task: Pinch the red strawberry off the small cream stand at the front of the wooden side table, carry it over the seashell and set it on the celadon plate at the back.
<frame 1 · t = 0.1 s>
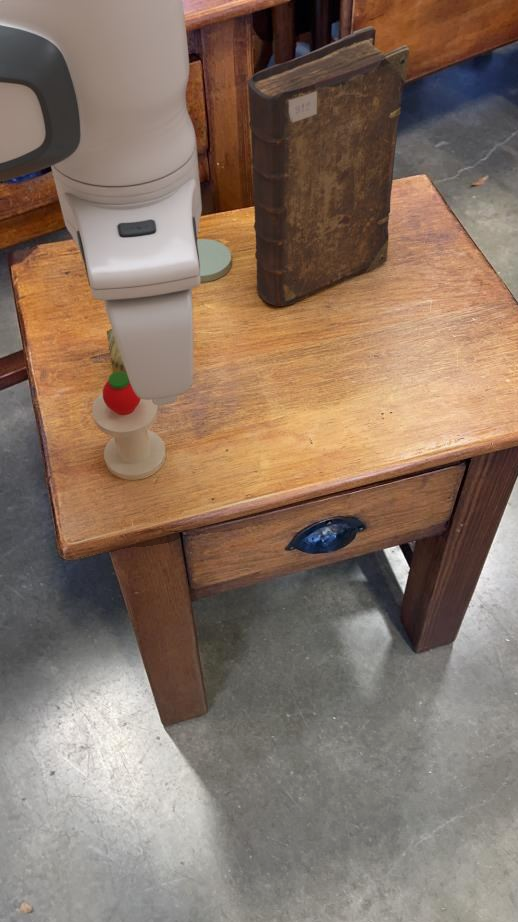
hand: (156, 353, 63), 19 cm above the table, tool pointing down, fingers open, 8 cm apart
strawberry: (124, 407, 76), point 7 cm above the table, touching stand
stand: (135, 456, 82), on the table
seashell: (151, 373, 89), on the table
book: (316, 274, 99), on the table
plate: (202, 263, 99), on the table
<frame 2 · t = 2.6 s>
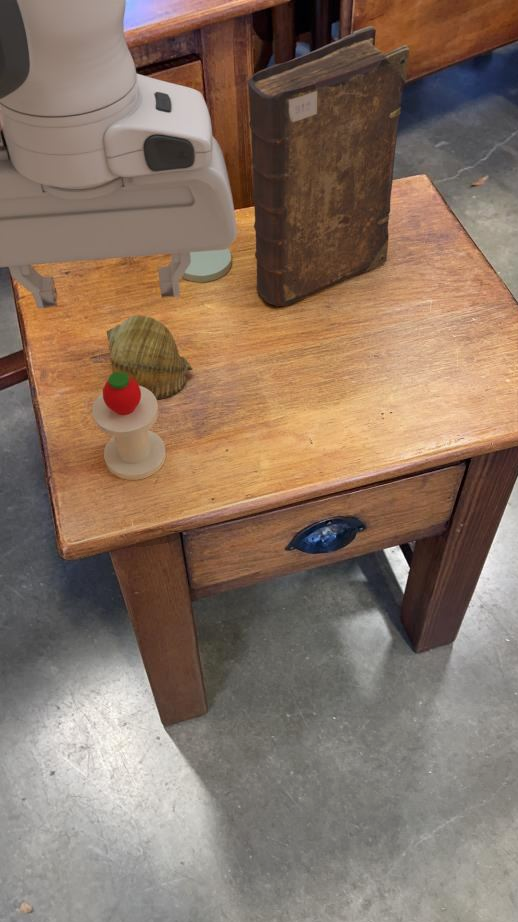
hand: (109, 297, 64), 21 cm above the table, tool pointing down, fingers open, 8 cm apart
nothing on the table moved.
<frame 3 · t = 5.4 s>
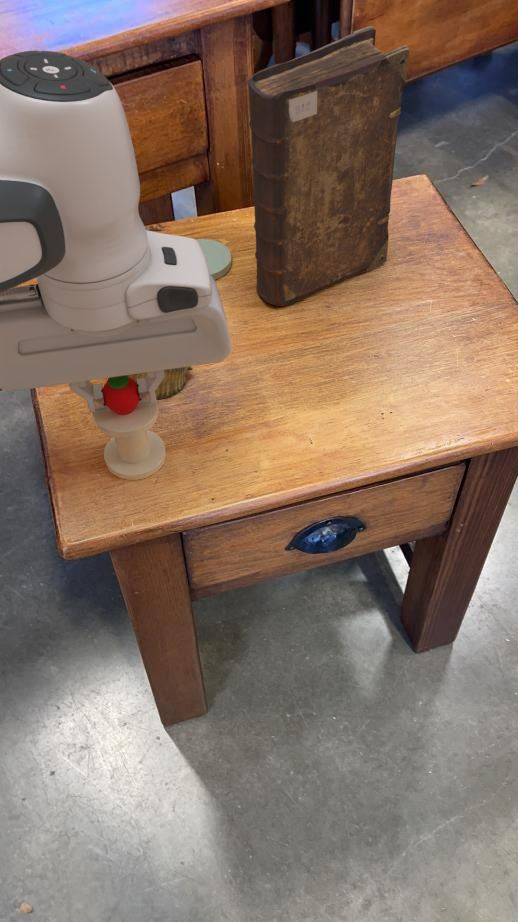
hand: (123, 402, 75), 8 cm above the table, tool pointing down, fingers closed on strawberry, 3 cm apart
strawberry: (124, 407, 76), point 7 cm above the table, touching gripper, stand
everything else where it was.
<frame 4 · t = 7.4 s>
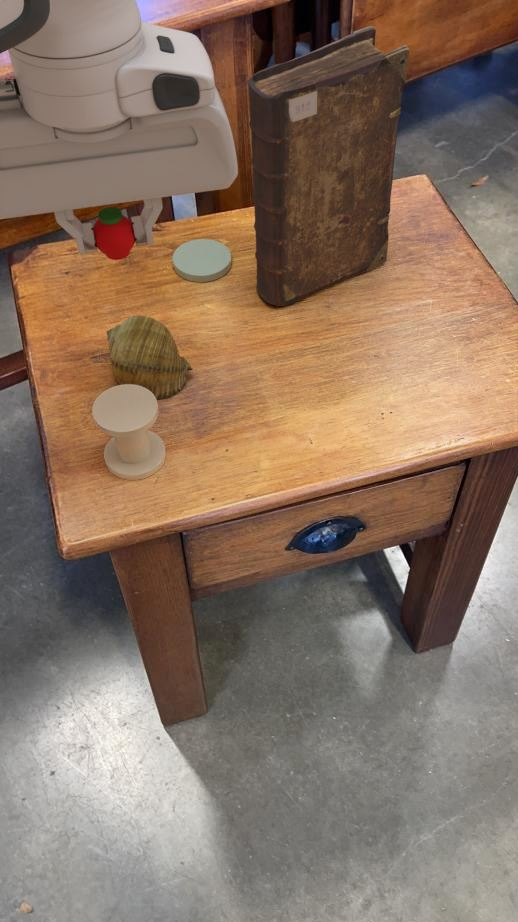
hand: (116, 245, 67), 21 cm above the table, tool pointing down, fingers closed on strawberry, 3 cm apart
strawberry: (117, 252, 68), point 20 cm above the table, touching gripper
everything else where it was.
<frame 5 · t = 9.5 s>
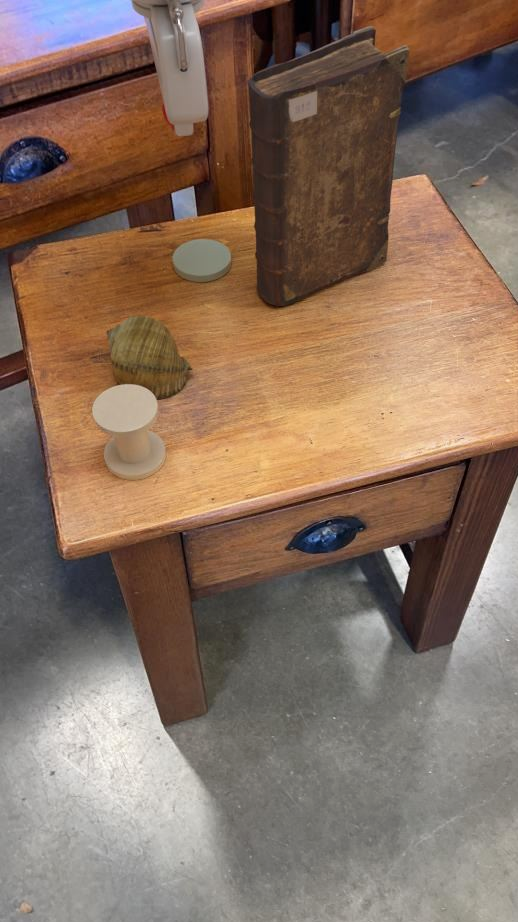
hand: (180, 119, 81), 20 cm above the table, tool pointing down, fingers closed on strawberry, 3 cm apart
strawberry: (181, 126, 82), point 19 cm above the table, touching gripper
everything else where it was.
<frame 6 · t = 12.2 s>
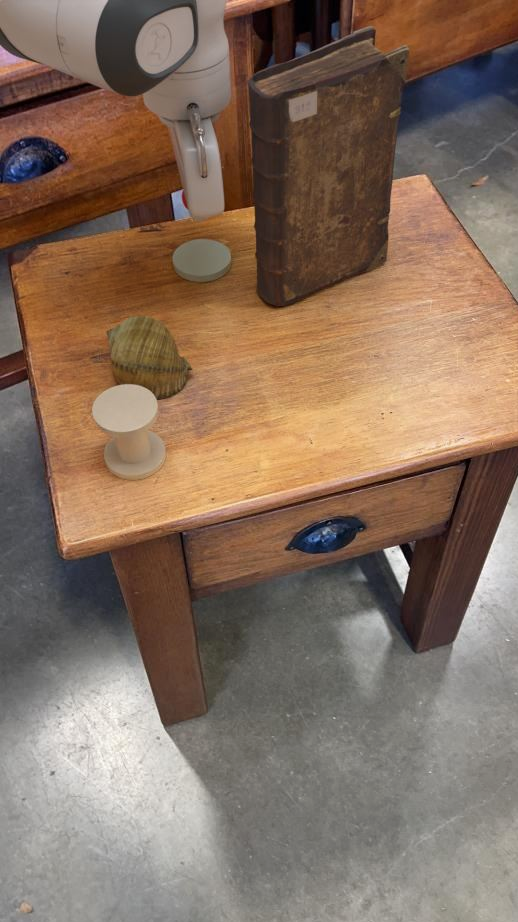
hand: (197, 205, 93), 8 cm above the table, tool pointing down, fingers closed on strawberry, 3 cm apart
strawberry: (198, 210, 94), point 7 cm above the table, touching gripper
everything else where it was.
when the fingers open (2 cm above the table, at t = 14.1 s): strawberry stays where it is, resting on plate.
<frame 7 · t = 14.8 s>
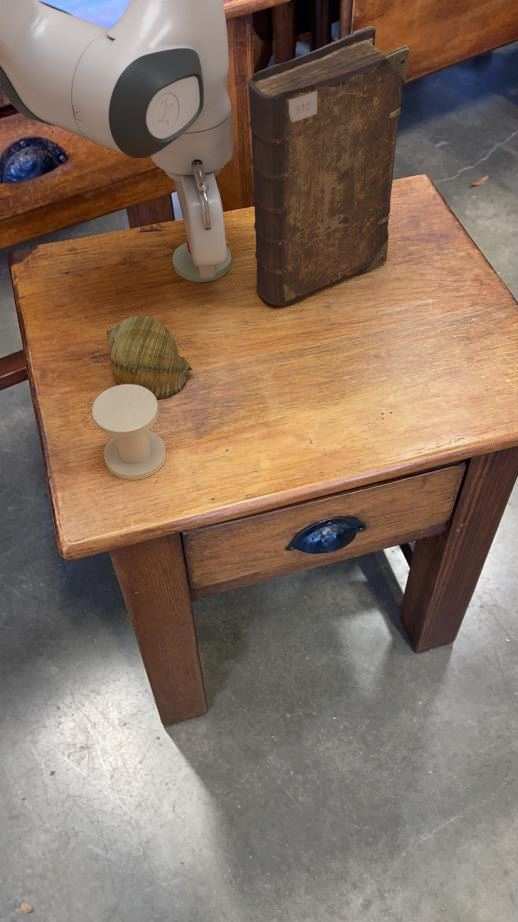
hand: (200, 249, 98), 2 cm above the table, tool pointing down, fingers open, 8 cm apart
strawberry: (202, 256, 99), point 1 cm above the table, touching plate
everything else where it was.
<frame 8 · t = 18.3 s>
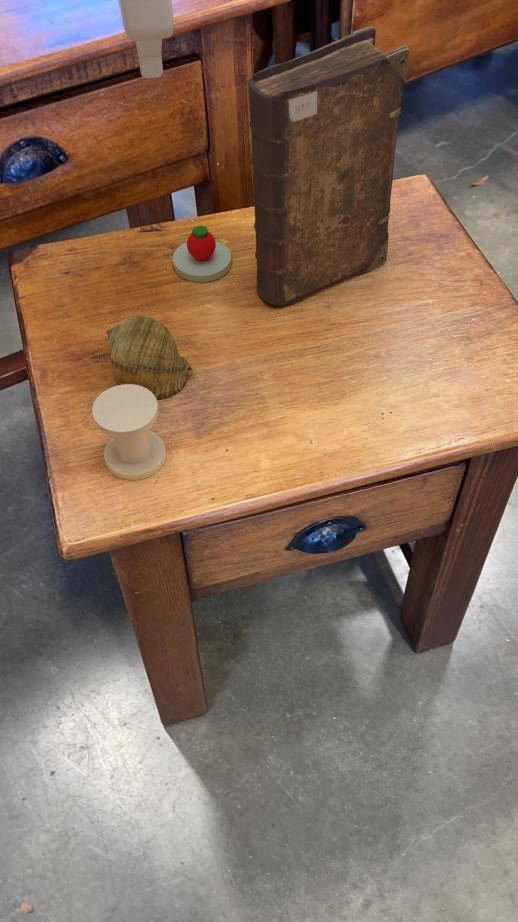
hand: (145, 47, 71), 29 cm above the table, tool pointing down, fingers open, 8 cm apart
nothing on the table moved.
at the end: strawberry 0.1 cm off-centre on the plate, point 1.0 cm above the plate's base; the gripper is holding nothing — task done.
